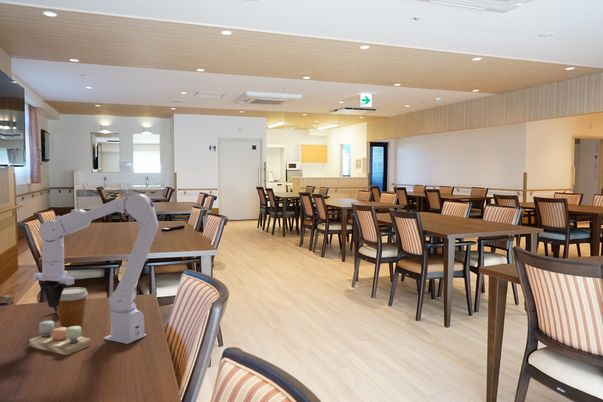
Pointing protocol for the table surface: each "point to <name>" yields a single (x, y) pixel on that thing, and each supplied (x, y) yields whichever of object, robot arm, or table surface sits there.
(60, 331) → the peach round knob
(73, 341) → the sage button
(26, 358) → the table surface
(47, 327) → the slate button
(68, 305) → the disposable coffee cup
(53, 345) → the button board
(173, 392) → the table surface
